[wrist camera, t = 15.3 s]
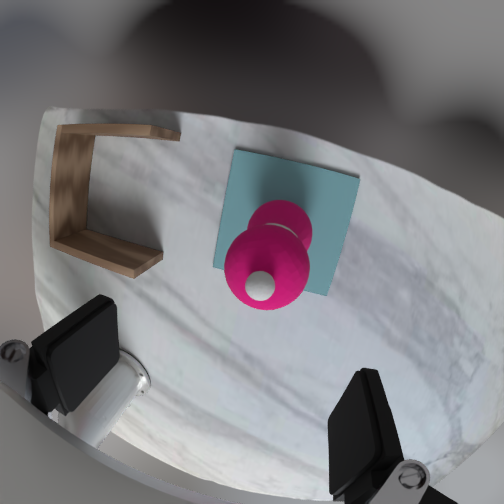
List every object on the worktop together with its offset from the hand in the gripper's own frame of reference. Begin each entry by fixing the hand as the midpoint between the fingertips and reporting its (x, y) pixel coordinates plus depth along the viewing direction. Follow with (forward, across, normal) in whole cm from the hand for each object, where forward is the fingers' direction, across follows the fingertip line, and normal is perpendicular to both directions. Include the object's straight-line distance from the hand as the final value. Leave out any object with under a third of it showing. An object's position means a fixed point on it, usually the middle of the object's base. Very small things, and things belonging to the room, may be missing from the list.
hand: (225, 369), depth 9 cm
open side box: (+27, +23, -1) cm, 36 cm away
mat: (+27, -1, -1) cm, 27 cm away
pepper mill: (+27, 0, -1) cm, 27 cm away
